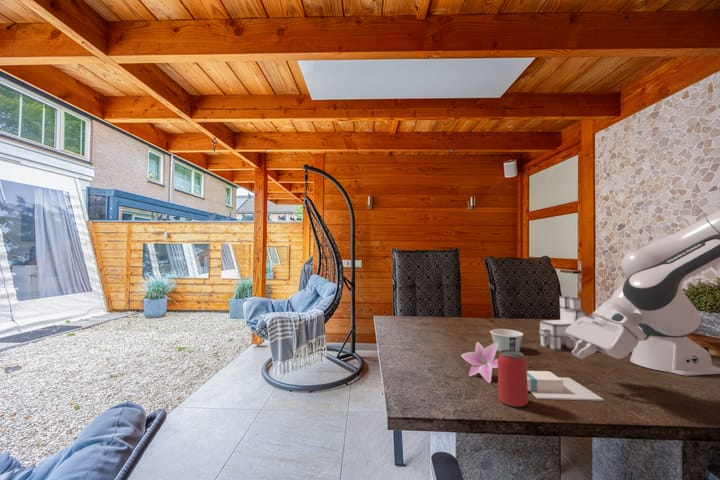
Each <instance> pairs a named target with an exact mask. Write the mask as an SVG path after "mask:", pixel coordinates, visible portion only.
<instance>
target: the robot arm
mask: <svg viewBox="0 0 720 480" xmlns="http://www.w3.org/2000/svg"><path fill="white" fill-rule="evenodd" d="M718 264H720V209H719V210H717V211H714V212H712V213H711V214H708V215H707V216H705V217H703V218H701V219H699V220H697V221H696V222H693V223H692V224H690V225H688V226H686V227H684V228H682V229H681V230H678V231H676V232H675V233H672V234H670V235H667V236H665V237H663V238H659V239H657V240H656V241H653V242H651V243H648V244H646V245H644V246H642V247H639V248H637V249H636V250H633V251H631V252H629V253H627V254H626V255H625V256H624V257H623V258H622V259H621V262H620V265H621V270H622V271H623V273H624V274H625V276H627V278H626V279H625V281H624V282H623V283H622V284H621V285H620V286H619V287H618V288H617V289H616V290H615V291H613V293H612V295H611V297H610V298H608V299H606V300H604V301H603V302H602V304H601V305H599V307H597V308H596V309H595V311H593V312H592V313H591V314H589V315H586V316H587V317H580V318H579V319H577V320H576V321H575V322H573V323H572V324H571V325H570V326H569V327H567V328H566V330H565V333H566V334H567V335H568V336H569V337H570V338H571V339H572V340H574V341H577V343H576V346H575V349H574V350H571V354H572V355H573V356H574V357H576V358H578V359H580V360H584V359H585V358H586V357H588V356H591V355H592V354H595V353H596V352H601V353H603V354H606V355H608V356H610V357H612V358H615V359H618V360H619V359H623V358H625V357H627V356H628V355H629V354H630V353H631V356H630V359H629V361H630V362H631V363H633V364H634V365H637V366H640V367H643V368H647V369H652V370H657V371H661V372H665V373H666V372H667V373H672V374H676V375H679V376H680V375H681V376H703V375H704V376H705V375H720V367H719V366H716V365H713V363H712V357H711V355H710V352H708V350H707V349H705V348H704V347H702V346H701V345H699V344H698V343H696V342H695V341H693V340H692V339H691V338H689V337H687V336H689V335H691V334H694V332H696V331H697V330H698V329H699V328H700V326H701V325H702V323H703V319H702V316H701V314H700V312H699V310H698V309H697V307H695V305H694V304H693V302H692V301H691V300H690V299H689V298H688V296H687V294H685V292H684V291H683V284H684V283H685V282H686V281H687V280H689V279H690V278H693V277H695V276H696V275H698V274H700V273H701V272H704V271H705V270H708V269H710V268H711V267H713V266H715V265H718Z"/></svg>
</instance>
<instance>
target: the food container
mask: <svg viewBox="0 0 720 480" xmlns="http://www.w3.org/2000/svg"><path fill="white" fill-rule="evenodd" d="M489 333H490V334H491V340H492V344H494V343H498V348H497V351H498V352H500V351H501V350H514V351H518V352H520V351H521V346H522V339H523V336H524V333H523V332H521V331H518V330H513V329H508V328H507V329H505V328H495V329H491V330H490V331H489Z"/></svg>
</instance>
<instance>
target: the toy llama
mask: <svg viewBox="0 0 720 480" xmlns="http://www.w3.org/2000/svg"><path fill="white" fill-rule="evenodd" d="M581 303H582V301H581V297H574V296H573V297H571V296H568V295H559V315H560V318H559V319H554V320H553V319H551V320H539V328H538V329H539V331H538V333H539V336H540V338H539V339H540V340H539V341H540V346H541V347H544V348H549V349H550V350H552V351H556V352H557V351H562V347H566V349H568V350H571V351H573V350H574V349H575V346H576V343H577V341H574V340H572V339H571V338H570V337H569V336H568V335H567V334H566V333H565V330H566V328H567V327H569V326H570V325H571V324H572V323H573V322H575V321H576V320H577V319H579V318H580V317H587V316H588V315H587V309H586V310H585V309H582V304H581Z"/></svg>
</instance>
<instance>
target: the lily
mask: <svg viewBox="0 0 720 480" xmlns="http://www.w3.org/2000/svg"><path fill="white" fill-rule="evenodd" d="M497 348H498V343H494V344H493V343H491V344H489V345H488V346H486V347H485V348H484V346H482V344H481V343H480V342H478V341H477V342H476V343H475V348H474V349H475V350H474V351H469V352H464V353H462V354H461V355H460V356H461V357H462V359H463V360H465V361H466V362H467V363H469V364H470V365H471V367H470V369H469V373H468V376H469V377H472V376H474V375H476V374H480V375H481V376H482V378H483V379H484V381H486V382H487V384H488V383H489V384H490V383H491V382H492V377H493V376H492V374H493V369H496V368H497V369H498V358H495V357H496V353H497V351H498V350H497Z"/></svg>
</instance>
